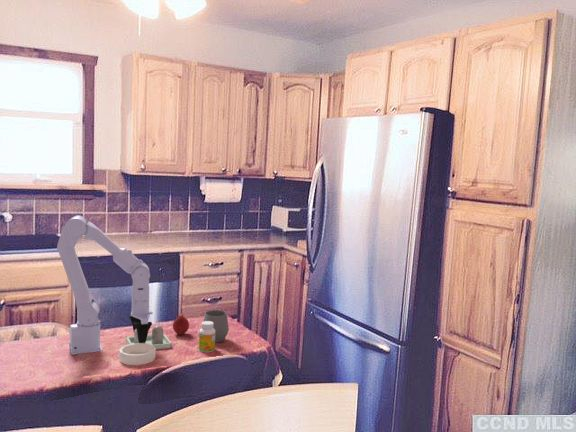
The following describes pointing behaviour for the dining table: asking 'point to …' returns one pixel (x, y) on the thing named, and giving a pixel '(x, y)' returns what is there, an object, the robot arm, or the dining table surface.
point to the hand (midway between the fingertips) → (139, 338)
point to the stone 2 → (157, 335)
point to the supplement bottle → (207, 337)
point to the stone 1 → (136, 337)
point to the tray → (149, 341)
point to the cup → (218, 323)
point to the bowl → (137, 354)
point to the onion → (180, 325)
